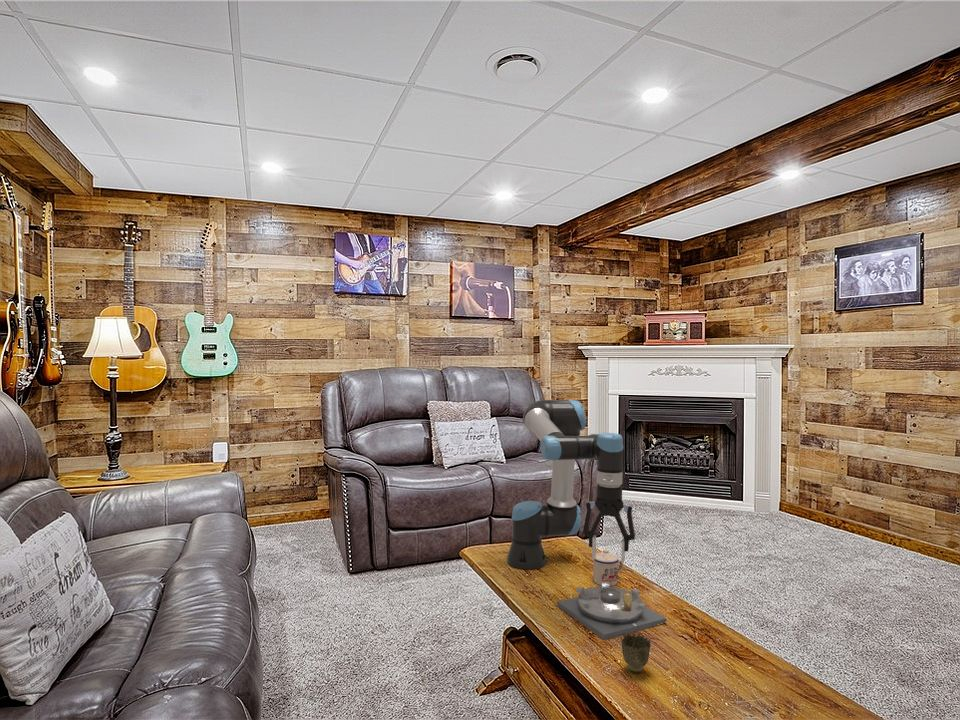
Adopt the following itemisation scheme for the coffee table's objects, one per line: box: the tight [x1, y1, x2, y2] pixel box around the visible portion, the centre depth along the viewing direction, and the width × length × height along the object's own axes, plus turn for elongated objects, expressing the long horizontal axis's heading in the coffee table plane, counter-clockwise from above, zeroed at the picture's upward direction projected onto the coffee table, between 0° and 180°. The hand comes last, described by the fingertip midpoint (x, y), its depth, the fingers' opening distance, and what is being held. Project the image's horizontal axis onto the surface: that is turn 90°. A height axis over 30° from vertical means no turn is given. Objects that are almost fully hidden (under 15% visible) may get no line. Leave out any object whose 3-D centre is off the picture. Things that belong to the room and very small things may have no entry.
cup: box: [620, 633, 651, 674], centre depth 148 cm, size 8×7×8 cm
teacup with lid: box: [592, 548, 624, 587], centre depth 205 cm, size 12×9×12 cm
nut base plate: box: [556, 596, 667, 641], centre depth 179 cm, size 24×24×2 cm
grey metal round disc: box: [575, 582, 647, 624], centre depth 179 cm, size 20×22×8 cm
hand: (608, 559), depth 171 cm, fingers open, 8 cm apart
